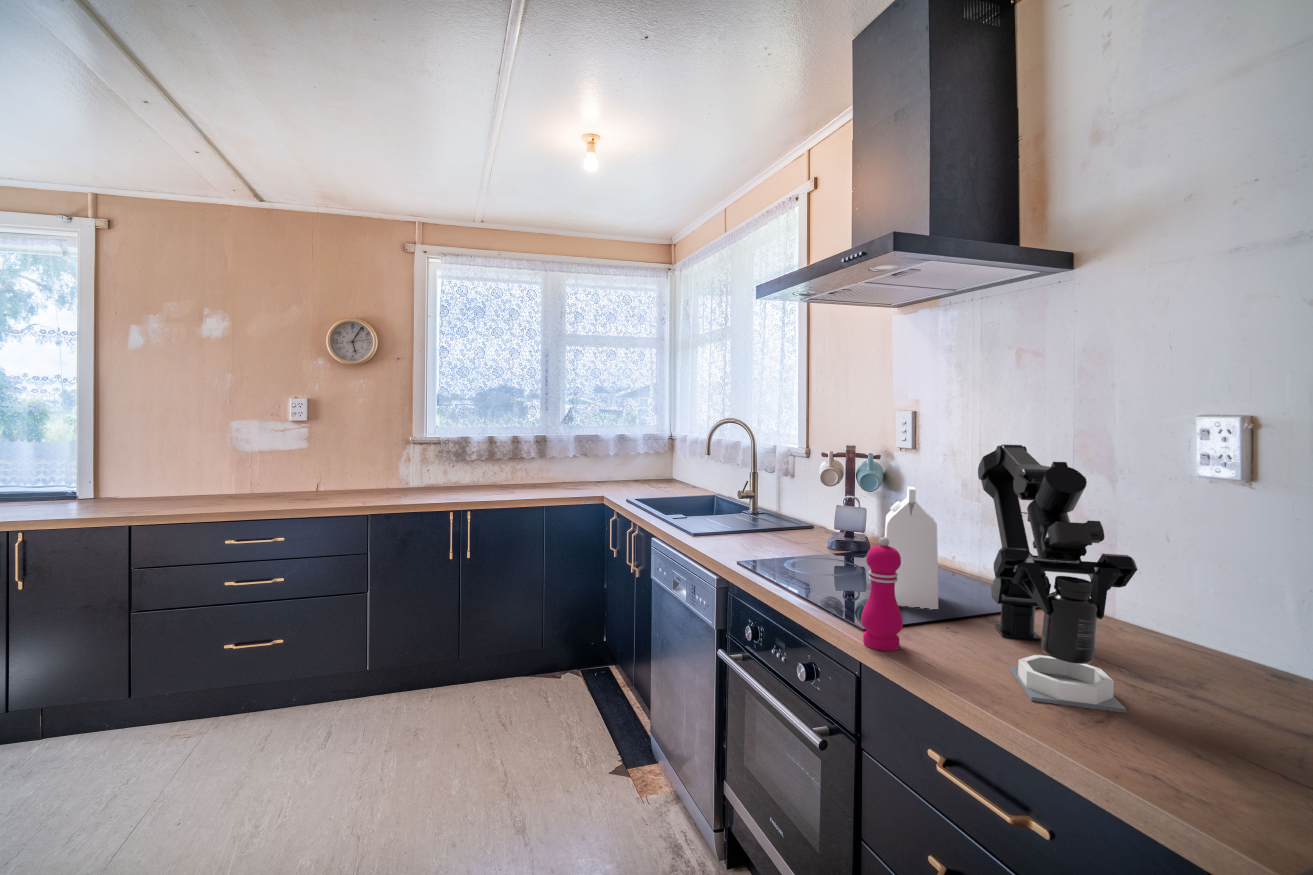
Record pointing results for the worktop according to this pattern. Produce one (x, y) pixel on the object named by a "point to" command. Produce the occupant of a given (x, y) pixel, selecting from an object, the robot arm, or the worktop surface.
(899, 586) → the milk
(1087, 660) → the supplement bottle
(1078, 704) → the collar seat
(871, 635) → the pepper mill
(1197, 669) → the worktop surface
